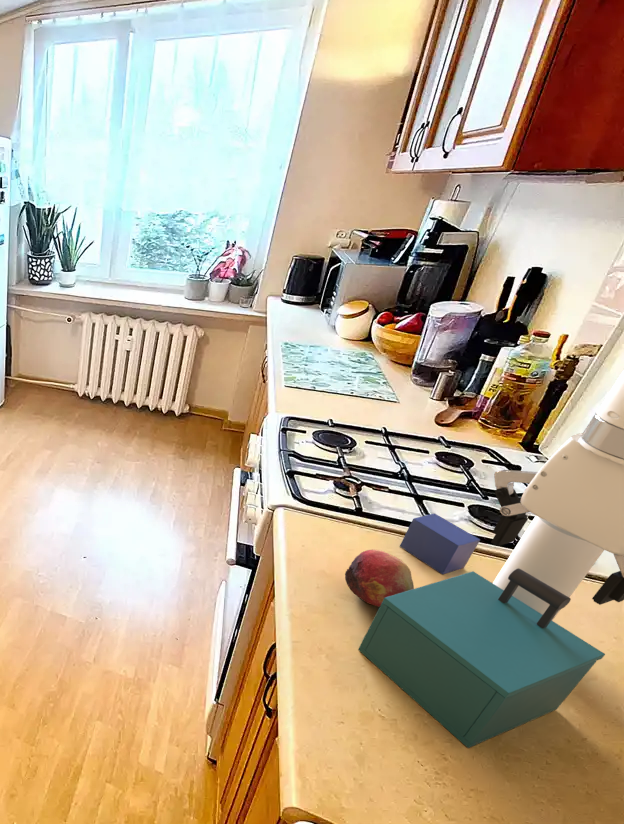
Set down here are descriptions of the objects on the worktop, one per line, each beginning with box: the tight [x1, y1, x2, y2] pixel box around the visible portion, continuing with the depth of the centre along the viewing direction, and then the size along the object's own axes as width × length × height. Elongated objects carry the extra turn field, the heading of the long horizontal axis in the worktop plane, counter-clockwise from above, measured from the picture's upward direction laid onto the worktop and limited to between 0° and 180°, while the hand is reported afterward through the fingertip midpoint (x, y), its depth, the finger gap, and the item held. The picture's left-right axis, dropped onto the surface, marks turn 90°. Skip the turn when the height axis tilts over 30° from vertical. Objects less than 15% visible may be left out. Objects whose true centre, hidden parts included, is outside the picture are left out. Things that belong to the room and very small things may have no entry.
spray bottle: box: [492, 515, 605, 622], centre depth 68 cm, size 7×7×25 cm
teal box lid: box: [383, 568, 606, 698], centre depth 61 cm, size 16×14×6 cm
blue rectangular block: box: [399, 513, 481, 575], centre depth 85 cm, size 7×5×6 cm
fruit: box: [344, 549, 415, 608], centre depth 76 cm, size 8×8×8 cm
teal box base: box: [357, 602, 597, 749], centre depth 64 cm, size 16×14×9 cm
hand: (549, 569), depth 60 cm, fingers open, 9 cm apart
